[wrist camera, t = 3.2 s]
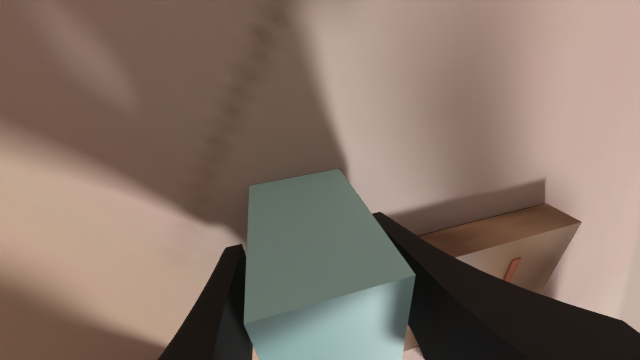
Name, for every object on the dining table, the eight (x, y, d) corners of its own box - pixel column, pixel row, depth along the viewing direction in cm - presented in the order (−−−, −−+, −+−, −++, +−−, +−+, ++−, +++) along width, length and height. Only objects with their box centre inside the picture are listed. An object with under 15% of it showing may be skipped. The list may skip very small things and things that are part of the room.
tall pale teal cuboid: (285, 315, 15) (301, 454, 10) (249, 185, 10) (243, 324, 5) (346, 297, 15) (391, 419, 10) (338, 168, 11) (415, 274, 6)
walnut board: (295, 352, 17) (300, 388, 15) (273, 273, 13) (276, 309, 11) (507, 286, 20) (532, 309, 18) (546, 203, 16) (583, 223, 14)
